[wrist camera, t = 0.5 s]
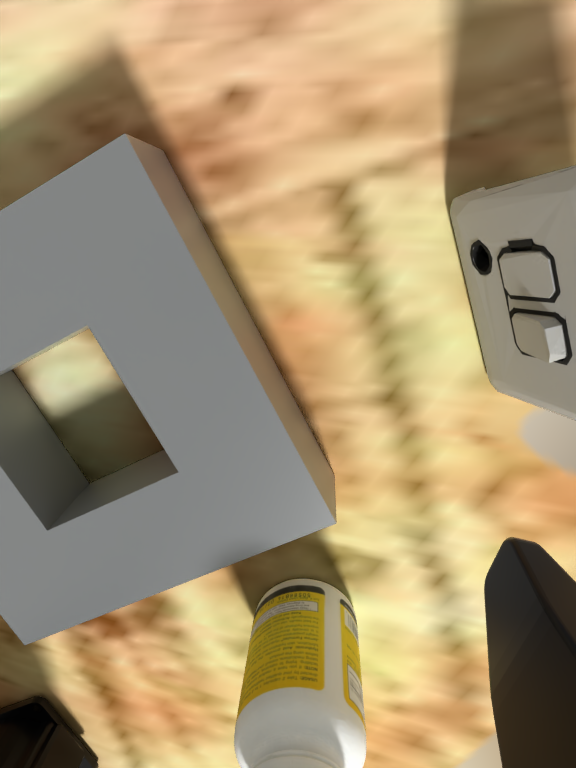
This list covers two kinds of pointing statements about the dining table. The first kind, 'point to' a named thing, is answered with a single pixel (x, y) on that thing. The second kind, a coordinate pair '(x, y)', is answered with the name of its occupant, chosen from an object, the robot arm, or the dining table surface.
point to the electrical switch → (524, 284)
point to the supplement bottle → (302, 682)
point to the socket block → (139, 400)
